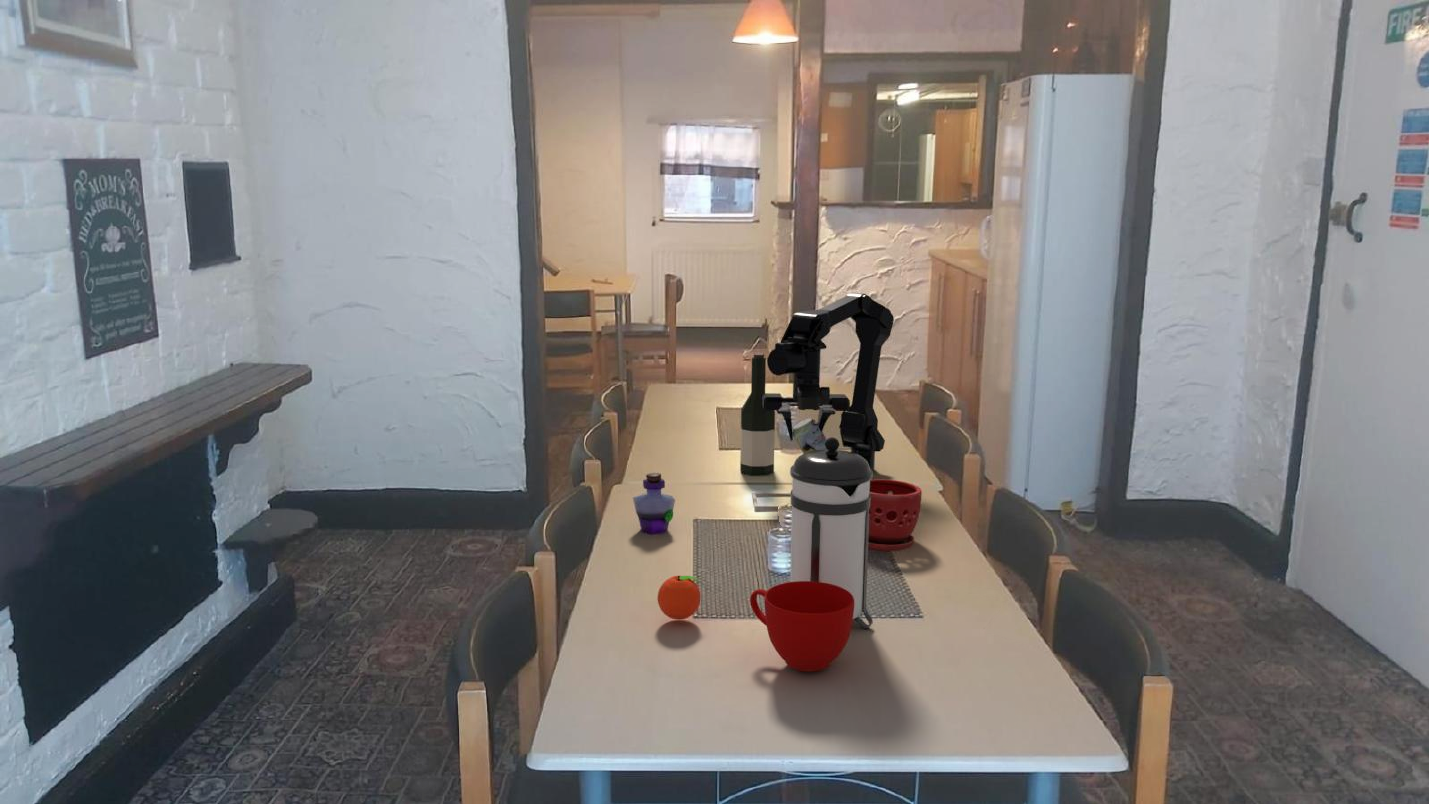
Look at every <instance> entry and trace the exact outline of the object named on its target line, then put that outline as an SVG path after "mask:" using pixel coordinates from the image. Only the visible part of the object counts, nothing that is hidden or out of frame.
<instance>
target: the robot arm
mask: <svg viewBox="0 0 1429 804" xmlns="http://www.w3.org/2000/svg"><path fill="white" fill-rule="evenodd" d="M849 318H850V319H851V320H852V321H853V322H854V323H855V334H856V337H857V338H858V341H859V352H858V358H857V364H856V370H855V371H856V372H855V379H854V385H853V393H852V401H851V400H850V399H849V397H848V396H847V395H846V394H844V393H843V394H842V393H839V394H838V393H837V394H836V393H835V394H834V393H831V390H830V386H821V385H820V381H821V378H820V377H821V376H820V375H821V354H822V353H821V350H824V349H825V350H826V349H827V345H826V344H825V342H823V341H822V339H824V338H825V337H826V336H828V335H829V333H830V332H831V328H832V327H834V326H836V325H839V324H840V323H841V322H844V321H845V320H848V319H849ZM894 322H895V317H894V314H893V313H892V312H891V310H890V309H889V308H888V307H886V306H885V305H883V304H881V303H879V302H877V301H876V300H873V299H872V297H870V296H869V295H868V294H867V293H863V292H862V293H860V292H859V293H858V292H850V293H847V294H846V295H845V296H844V297H840V298H839V299H837V300H835V301H833V302H831V303H829V304H827V305H825V306H823V307H821V308H819V309H811V310H802V311H801V310H800V311H797V312H795V313H794V314H793V315H792V316H791V319H790V321H789V323H788V325H787V327H786V330H785V331H784V334H783V335H782V337H781V340H780V342H775V344H774V349H772V350H770V353H768V357H767V358H766V362H767V363H766V366H767V367H768V370H769V372H770V373H771V374H772V375H774V376H776V377H777V376H778V377H779V376H786V375H790V374H793V378H792V379H793V380H792V381H793V382H792V397H782V394H781V393H777V392H776V393H774V392H773V393H770V392H768V393H766V392H765V394H764V395H763V397H762V406H763V409H764V410H774V411H775V412H776V413H777V414H778V415H782V417H783V420H784V422H785V425H786V429H787V432H788V436H789V440H790V441H791V442H793V438H794V436H793V423H792V422H793V421H792V411H791V409H790V408H791V407H797V409H798V410H799V411H800V410H801V411H805V410H813V411H818V414H817V415H818V417H817V422H818V424H819V429H820V431H821V432H823V430H824V428H825V425H826V423H827V421H828V420H829V418H831V416H832V415H835V414H836V413H837V412H841V415H840V423H839V426H838V428H839V434H840V438H841V444H842V447H845V448H850V452H852V453H855V454H858V455H860V456H861V457H863V458H864V459H865V460H866V461H867V462H868V464H869V467H870V469H871V470H872V471H873V472H874V471H875V466H876V465H875V461H876V460H875V459H876V458H875V457H876V453H877V452H881V451H882V450H883V449H884V446H885V444H886V443H885V442H886V441H885V438H884V437H883V436H882V434H881V433H880V431H879V429H878V424H879V423H878V422H879V420H878V417H877V414H876V412H875V409H874V402H875V395H876V387H877V381H878V374H879V366H880V359H881V352H882V347H883V346H884V344H885V343H886V341H888V339H889V338H890V336H891V332H892V328H893V325H894ZM850 401H851V402H850Z"/></svg>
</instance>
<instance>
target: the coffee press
mask: <svg viewBox="0 0 1429 804" xmlns="http://www.w3.org/2000/svg"><path fill="white" fill-rule="evenodd" d="M826 439H827V440H826V442H825V444H824V445H825V447H826V449H823V450H814V451H810V452H807V453H804V454H803V453H802V454H801V455H799V456H798V457H797V458H796V459H795V461H794V463H793V465H791V467H790V468H789V469H790V470H789V474H790V477H791V478H792V482H791V483H792V484H791V485H792V487H791V491H790V493H791V496H790V506H792V510H791V523H790V524H791V525H790V528H791V530H790V531H791V532H790V566H789V567H790V571H789V573H790V574H789V576H790V577H789V582H796V581H814V582H822V583H828V584H832V585H836V586H839V587H841V588H843V589H845V590H847V591H848V592H850V593H851V594H852V595H853V598H854V613H853V621H856V622H857V623H858V624H859V625H860V626H861V627H862V628H863V629H865V630H866V629H870V627H871V626H872V625H873V623H874V621H873V618H872V617H871V615H870V613H869V612H868V608H867V592H868V591H867V589H868V588H867V587H868V563H869V562H868V560H869V558H868V557H869V548H868V538H869V508H870V503H871V494H870V492H869V489H870V480H871V479H873V477H874V475H873V472H874V471H872V470H871V469H870V467H869V464H868V462H867V461H866V460H865V459H864V458H863V457H861V456H860V455H858V454H855V453H852V452H851V451H849V450H842V449H839V448H840V446H841V445H840V441H839V440H838V439H837V438H836V437H833V436H832V437H829V438H826ZM862 613H863V615H864V617H865V619H866V620H867V622H868V624H867V623H866V622H865V621H864V620H863V619H862V618H861V617H860V616H861V615H862Z"/></svg>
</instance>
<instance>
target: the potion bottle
mask: <svg viewBox="0 0 1429 804" xmlns="http://www.w3.org/2000/svg"><path fill="white" fill-rule="evenodd" d="M645 477H646V478H645V479H643V481H642V487H643V489H646V493H643V494H642V493H641V494H640V495H637V496H633V497H632V502H633V505H634V509H635V513H636V515H637V518H638V521H639V526H640V530H641V532H642V534H643V533H644V534H649V535H658V534H663V533H666V532H667V531H668V528H669V525H670V522H671V521H672V519H673V517H674V507H675V503H676V499H675V498H674V496H673V495H671V494H666V493H665V494H664V493H662V490H663V489H665V488H666V487H665V485H666V484H665V483H666V482H665V480H664V478H662V474H661V473H659V472H651V473H647V474H646V475H645Z"/></svg>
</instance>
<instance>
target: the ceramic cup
mask: <svg viewBox="0 0 1429 804" xmlns="http://www.w3.org/2000/svg"><path fill="white" fill-rule="evenodd" d="M758 595H760V596H762V597H763V598H764V612H762V610H761V608H760V606H759V604H758V600H757V599H758ZM749 598H750V599H749V603H750V606H751V609H752V610H751V611H752V612H753V614H754V615H755V617H756V618H757V619H758V621H760V622H761V623H763V624H764V625H765V626H766V630H767V633H768V637H769V641H770V642H771V644H772V646H773V648H774V649H775V652H776V653H777V654H778V655H779V656H780V658H781V659H782V660H783V661H784V662H785V664H786V665H787V666H788V667H790V668H791V669H795V670H798V671H803V672H817V671H821V670H825V669H827V668H828V667H830V665H831V664H832V663H833V662H834V661H835V660H836V659H837V658H838V657H839V656H840V655H841V653H842V652H843V650H844V649H845V648H846V645H847V643H848V641H849V638H850V634H851V630H852V625H853V621H854V620H853V613H854V598H853V595H852V594H851V593H850V592H848V591H847V590H845V589H843V588H841V587H839V586H836V585H832V584H828V583H822V582H814V581H796V582H790V581H788V582H784V583H779V584H777V585H776V584H775V585H774V586H772V587H770V588H769V589H768V590H765V589H763V588H758V589H755V590H754V591H753V592H752V593H751V594H750V597H749Z"/></svg>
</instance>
